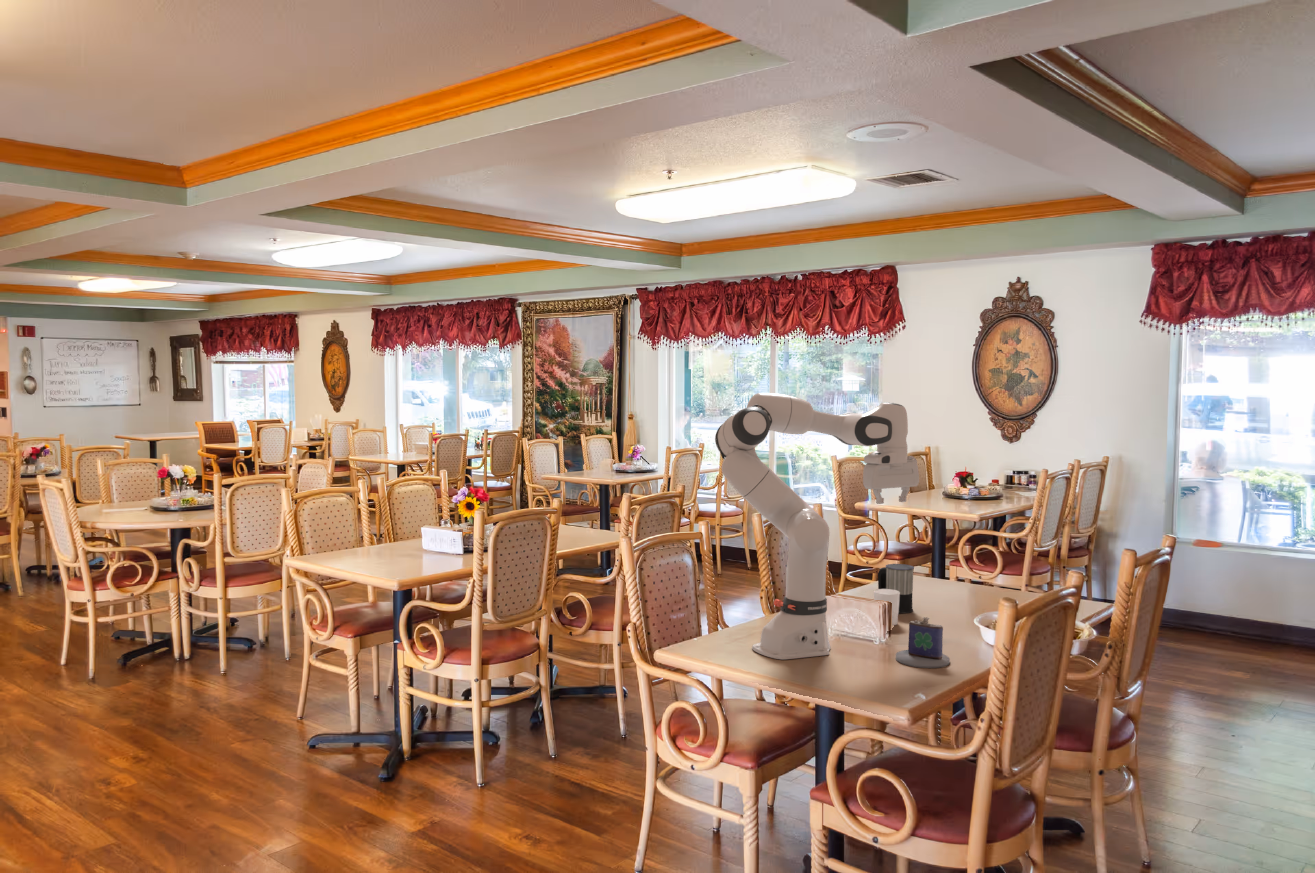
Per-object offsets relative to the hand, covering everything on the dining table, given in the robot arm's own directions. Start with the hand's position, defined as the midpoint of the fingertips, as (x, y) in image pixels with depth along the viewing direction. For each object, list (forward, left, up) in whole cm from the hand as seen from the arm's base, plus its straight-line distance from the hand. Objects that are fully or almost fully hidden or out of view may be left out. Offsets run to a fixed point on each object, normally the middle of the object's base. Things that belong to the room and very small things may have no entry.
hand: (891, 502), depth 275 cm
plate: (-14, -26, -39) cm, 49 cm away
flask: (-13, -26, -38) cm, 48 cm away
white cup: (+7, +8, -39) cm, 41 cm away
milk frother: (+19, +20, -39) cm, 48 cm away
